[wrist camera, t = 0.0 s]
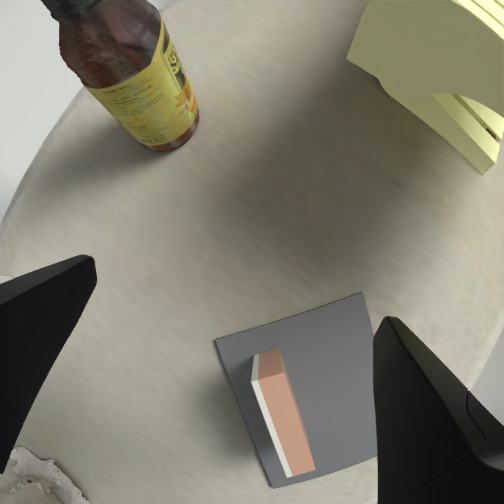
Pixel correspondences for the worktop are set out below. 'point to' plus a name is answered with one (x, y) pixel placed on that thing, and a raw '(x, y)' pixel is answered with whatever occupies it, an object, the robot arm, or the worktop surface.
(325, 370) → the mat
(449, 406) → the robot arm
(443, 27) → the yellow slatted pedestal stand
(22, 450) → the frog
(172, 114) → the sauce bottle
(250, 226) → the worktop surface
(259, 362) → the tile
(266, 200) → the worktop surface
